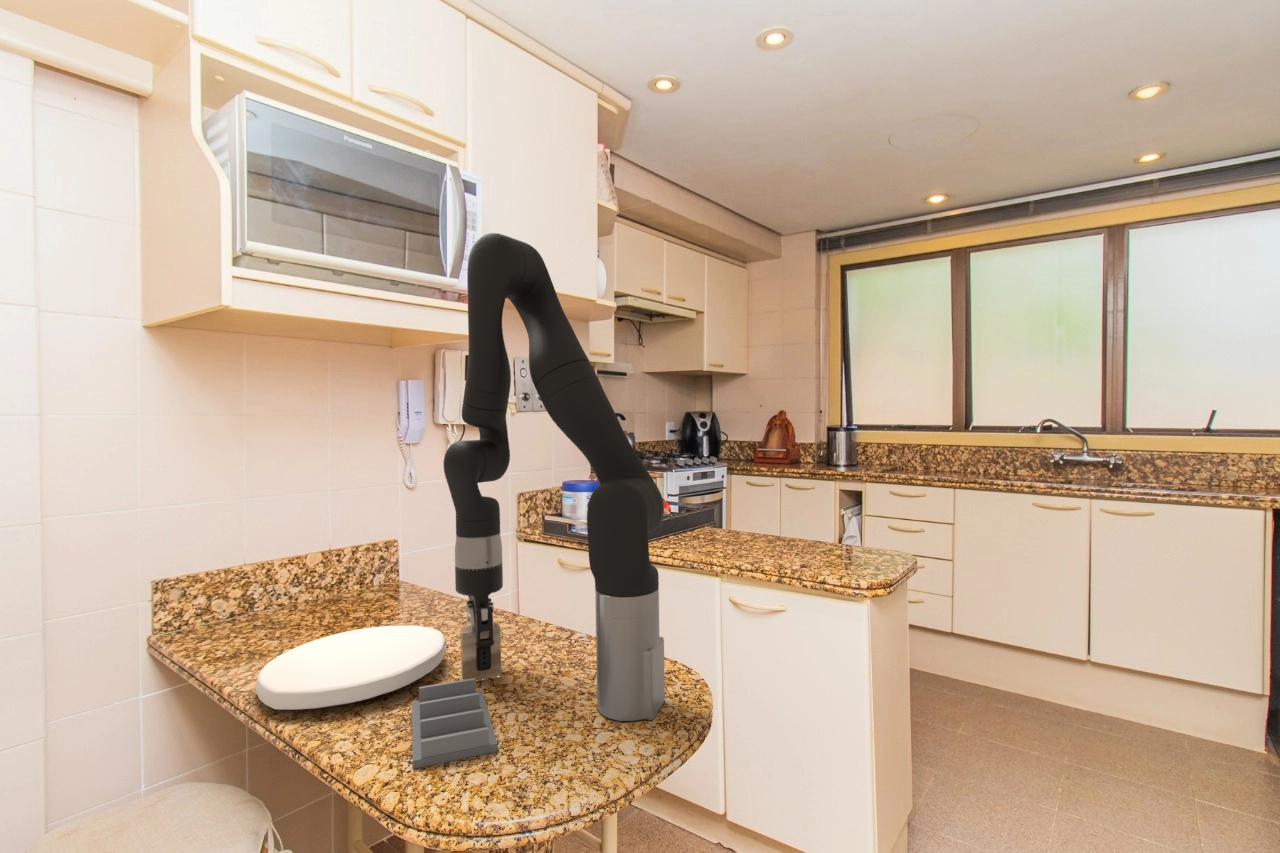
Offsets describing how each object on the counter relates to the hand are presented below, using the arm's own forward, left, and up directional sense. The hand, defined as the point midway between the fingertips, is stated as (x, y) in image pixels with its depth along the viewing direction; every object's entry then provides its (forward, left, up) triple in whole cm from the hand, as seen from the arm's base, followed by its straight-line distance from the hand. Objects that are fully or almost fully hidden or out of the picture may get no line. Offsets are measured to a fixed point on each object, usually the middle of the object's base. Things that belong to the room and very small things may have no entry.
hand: (480, 660), depth 100 cm
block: (0, 0, -3) cm, 3 cm away
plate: (+19, +7, -3) cm, 20 cm away
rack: (-6, +16, -3) cm, 17 cm away
